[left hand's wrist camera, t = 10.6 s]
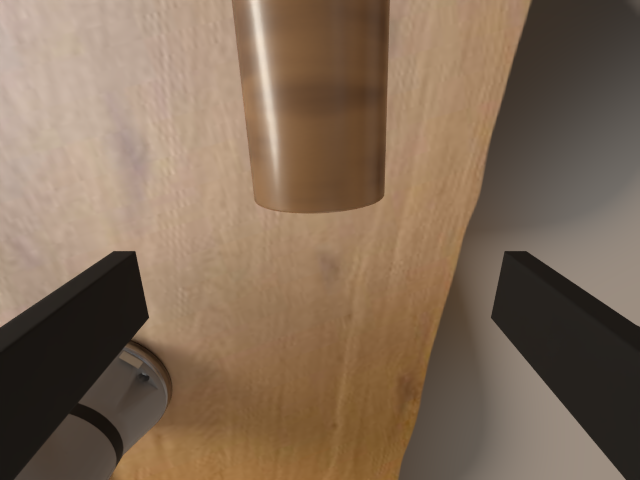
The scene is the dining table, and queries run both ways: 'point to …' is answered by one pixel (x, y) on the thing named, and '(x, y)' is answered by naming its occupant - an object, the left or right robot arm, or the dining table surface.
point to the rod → (314, 101)
